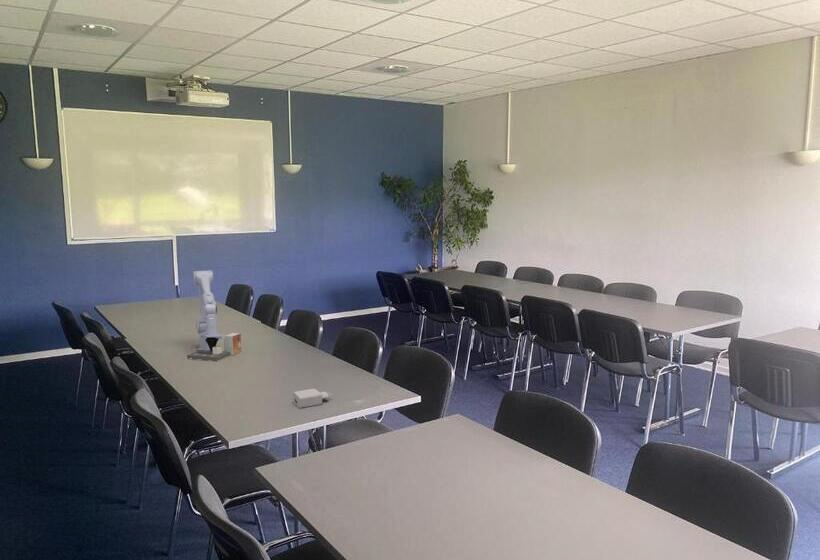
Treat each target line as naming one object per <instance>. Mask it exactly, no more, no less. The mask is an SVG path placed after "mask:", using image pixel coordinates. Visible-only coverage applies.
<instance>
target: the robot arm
mask: <svg viewBox="0 0 820 560" xmlns="http://www.w3.org/2000/svg"><path fill="white" fill-rule="evenodd" d="M192 276H193V277H192V278H193V285H194V286H195V287H197V288H198V296H199V307H200V316H199V317H198V318H196V320H195V323H196V324H195V329H196V333H197V334H198V338H199V347H198V348H197V349H196V351H199V350H210V351H211V352H213V347H215V346H218V341H219V340H224V338H225V334H221V333H218V319H217V314H218V304H217V301H215V296H214V293H213V292H211V285H212V283H213V282H214V273H213V270H212V269H208V270H194V271H193V272H192Z"/></svg>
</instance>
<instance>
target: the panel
mask: <svg viewBox="0 0 820 560" xmlns="http://www.w3.org/2000/svg"><path fill="white" fill-rule="evenodd" d="M230 356H231V355H230V352H227V351H224V350H222V353H221V354H218V355H215V354H213V352H211V351H210V350H196V351H194V352H192V353H189V354H187V355H186V359H187V358H192V359H191V360H195V359H202V360H201V361H208V360H212V361H211V362H219V361H221V360H223V359H225V357H226V358H228V357H230ZM218 360H219V361H218Z"/></svg>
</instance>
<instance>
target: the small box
mask: <svg viewBox="0 0 820 560" xmlns="http://www.w3.org/2000/svg"><path fill="white" fill-rule="evenodd" d="M241 334H242V333H238V332H237V333H236V332H231V333H229V334H226V335H225V334H224V335H225V338H224V339H223V349H224V350H223V351H227V352H230V356H235V355H238V354H240V352H241V353H242V335H241Z"/></svg>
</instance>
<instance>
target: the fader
mask: <svg viewBox="0 0 820 560" xmlns="http://www.w3.org/2000/svg"><path fill="white" fill-rule="evenodd" d="M222 351H223V346H222V345H217V346H215V347H213V354H215V355H218V354H221V353H222Z"/></svg>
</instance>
